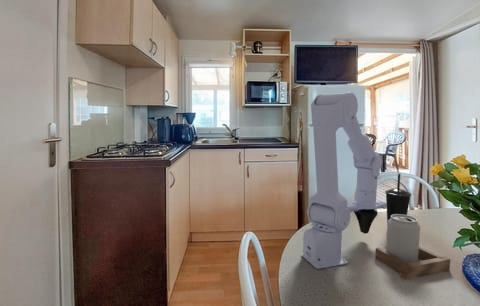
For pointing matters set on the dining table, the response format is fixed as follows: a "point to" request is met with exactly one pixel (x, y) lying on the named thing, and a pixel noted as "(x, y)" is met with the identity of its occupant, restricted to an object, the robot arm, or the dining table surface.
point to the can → (403, 237)
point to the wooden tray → (415, 264)
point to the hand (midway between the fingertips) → (364, 232)
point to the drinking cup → (397, 201)
